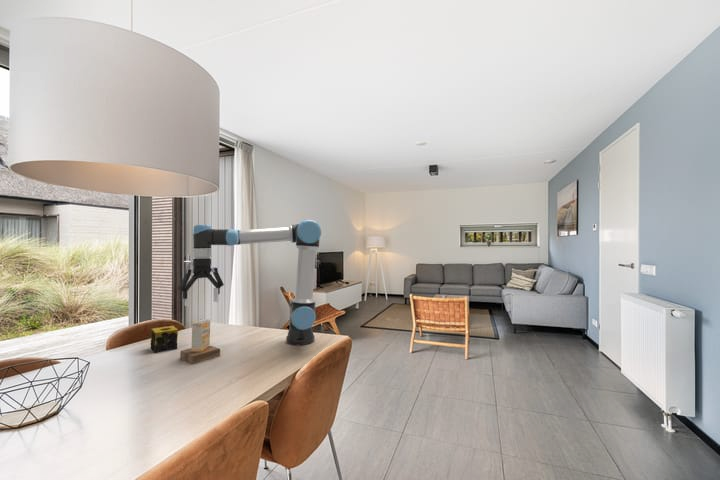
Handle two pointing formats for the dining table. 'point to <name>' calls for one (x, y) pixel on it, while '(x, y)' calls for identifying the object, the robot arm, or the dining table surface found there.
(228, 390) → the dining table surface
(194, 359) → the walnut block
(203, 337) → the supplement box
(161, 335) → the black and yellow box
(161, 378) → the dining table surface
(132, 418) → the dining table surface
